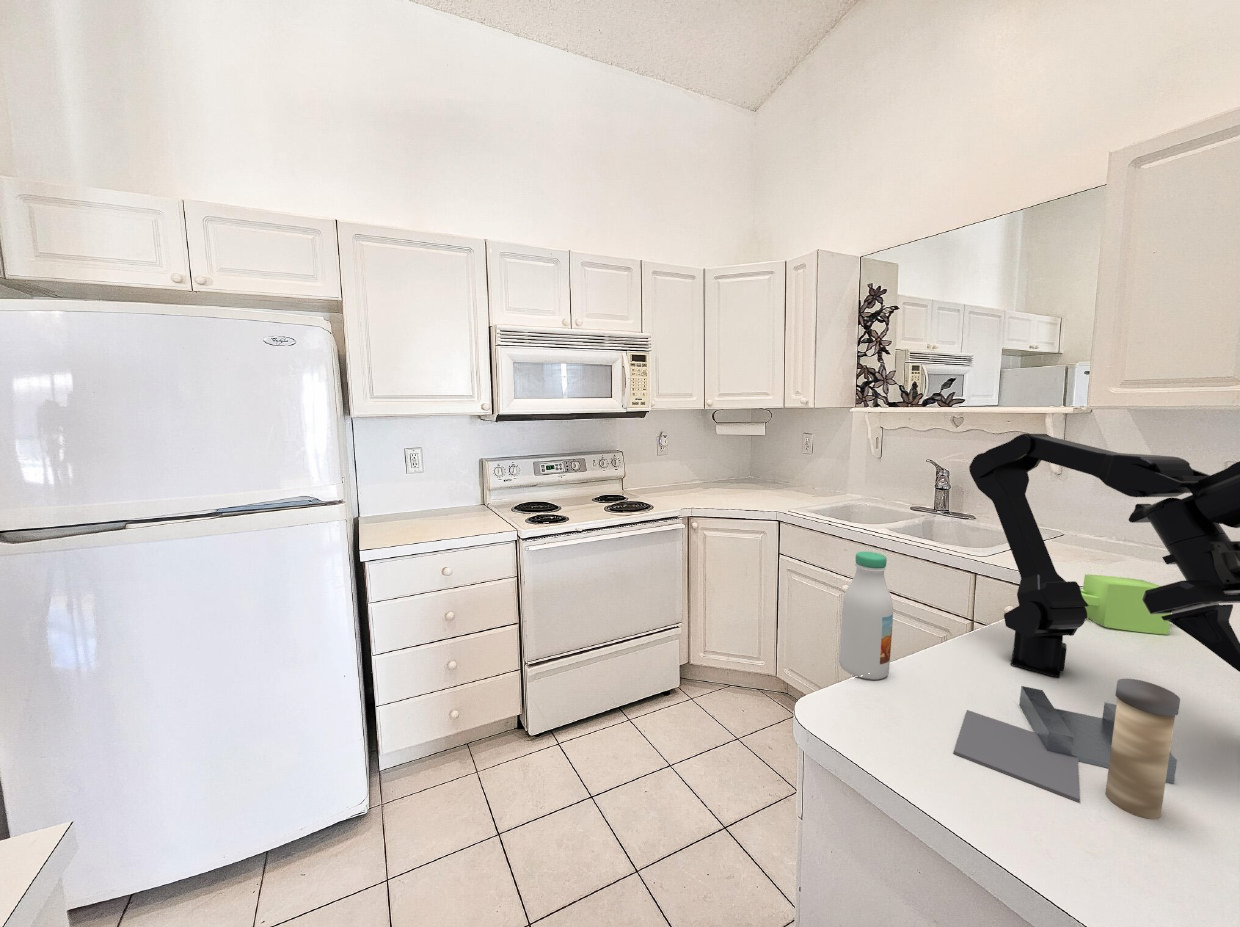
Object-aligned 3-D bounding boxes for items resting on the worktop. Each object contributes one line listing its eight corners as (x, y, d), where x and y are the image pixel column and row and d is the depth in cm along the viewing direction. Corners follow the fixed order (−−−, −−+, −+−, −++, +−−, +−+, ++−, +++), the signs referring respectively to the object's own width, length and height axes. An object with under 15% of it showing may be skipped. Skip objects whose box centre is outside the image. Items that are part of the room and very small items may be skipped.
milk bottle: (865, 685, 81) (874, 563, 78) (828, 662, 88) (835, 550, 85) (899, 675, 84) (908, 558, 81) (860, 654, 91) (868, 546, 89)
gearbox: (1158, 621, 109) (1163, 578, 108) (1196, 639, 99) (1203, 592, 99) (1059, 609, 113) (1063, 568, 113) (1086, 625, 104) (1091, 580, 103)
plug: (1104, 804, 57) (1119, 690, 55) (1101, 780, 60) (1115, 673, 59) (1166, 827, 53) (1183, 708, 52) (1160, 801, 57) (1176, 689, 56)
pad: (953, 753, 65) (953, 750, 65) (966, 712, 74) (966, 709, 74) (1079, 802, 57) (1079, 799, 57) (1077, 749, 66) (1077, 746, 66)
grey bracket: (1019, 704, 76) (1021, 685, 75) (1125, 726, 71) (1127, 706, 70) (1046, 753, 65) (1048, 731, 65) (1173, 783, 60) (1176, 760, 60)
